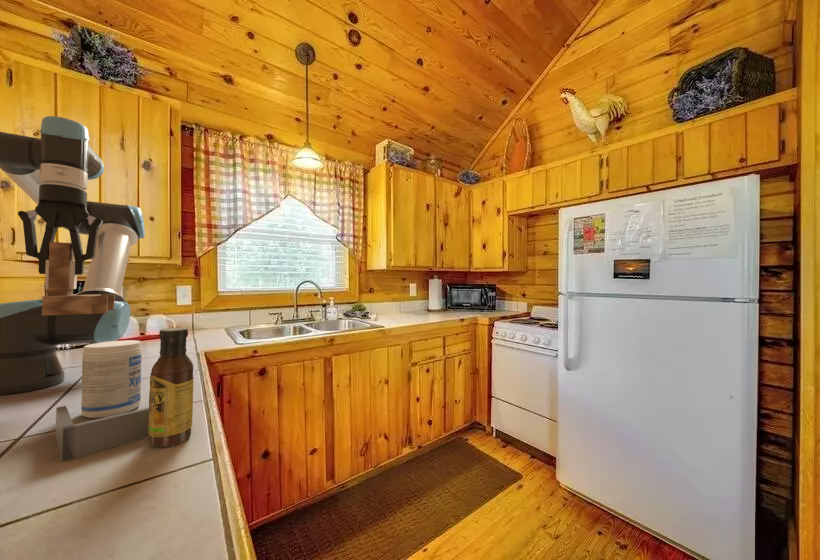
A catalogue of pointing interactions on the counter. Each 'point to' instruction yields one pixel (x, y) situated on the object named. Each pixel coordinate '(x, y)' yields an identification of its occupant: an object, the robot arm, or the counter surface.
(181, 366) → the sauce bottle
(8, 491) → the counter surface
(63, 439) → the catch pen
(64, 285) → the wooden bracket
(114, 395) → the supplement tub
